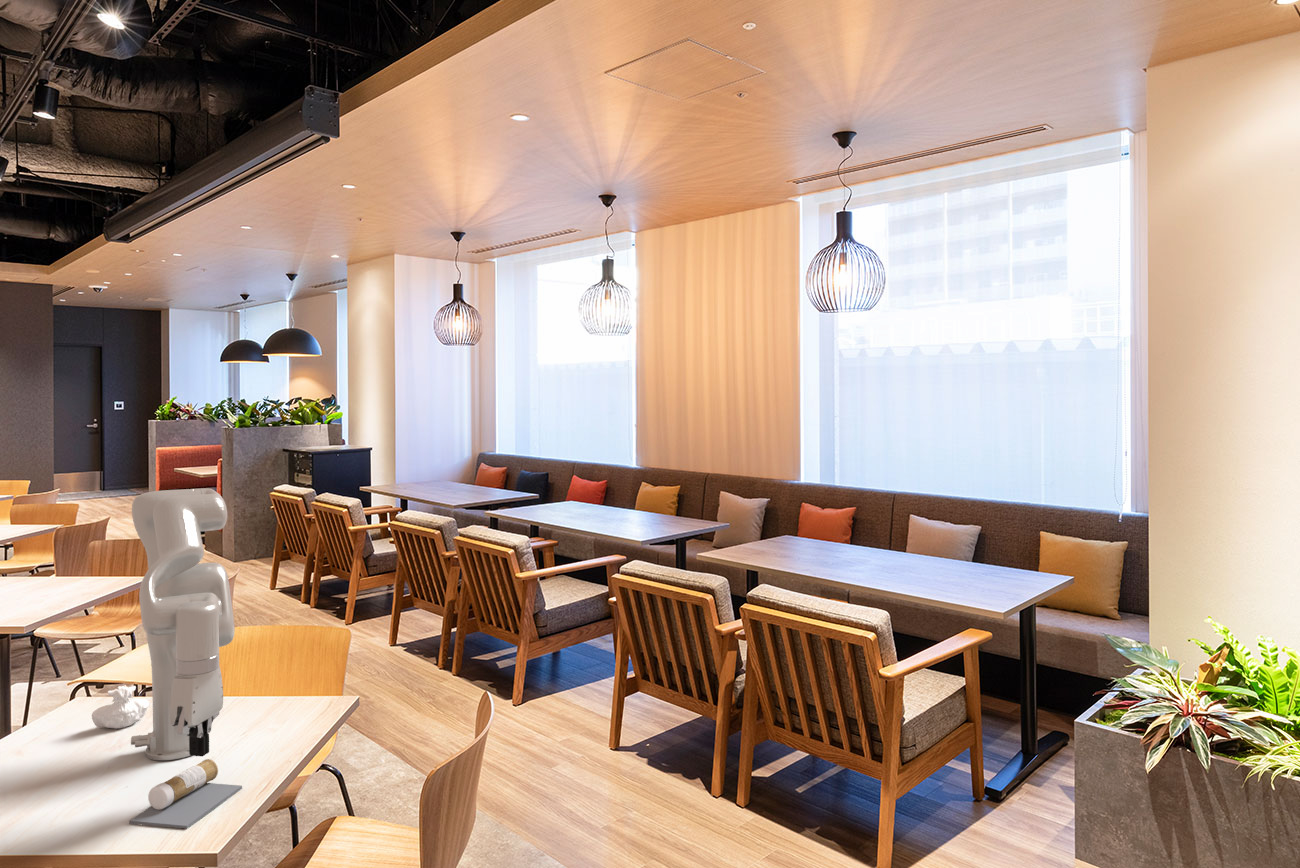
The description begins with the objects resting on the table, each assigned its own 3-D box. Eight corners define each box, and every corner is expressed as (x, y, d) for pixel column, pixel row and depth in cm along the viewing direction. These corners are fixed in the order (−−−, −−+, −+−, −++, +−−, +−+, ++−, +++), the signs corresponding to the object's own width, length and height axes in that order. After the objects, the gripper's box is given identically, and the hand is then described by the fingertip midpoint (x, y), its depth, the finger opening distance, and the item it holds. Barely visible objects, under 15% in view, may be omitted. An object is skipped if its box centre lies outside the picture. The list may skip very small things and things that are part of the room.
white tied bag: (92, 741, 194) (96, 713, 189) (88, 715, 199) (91, 687, 193) (150, 728, 202) (155, 700, 197) (144, 703, 207) (150, 675, 201)
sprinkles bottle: (207, 783, 170) (153, 814, 157) (197, 763, 170) (143, 792, 157) (222, 774, 169) (170, 804, 156) (213, 754, 169) (159, 783, 156)
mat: (186, 829, 151) (186, 825, 151) (129, 823, 153) (129, 820, 153) (242, 788, 167) (242, 785, 167) (189, 784, 169) (189, 781, 169)
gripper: (206, 651, 170) (207, 737, 171) (153, 676, 155) (154, 769, 156) (239, 653, 169) (240, 740, 170) (188, 678, 154) (190, 772, 155)
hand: (199, 754), depth 163 cm, fingers closed
